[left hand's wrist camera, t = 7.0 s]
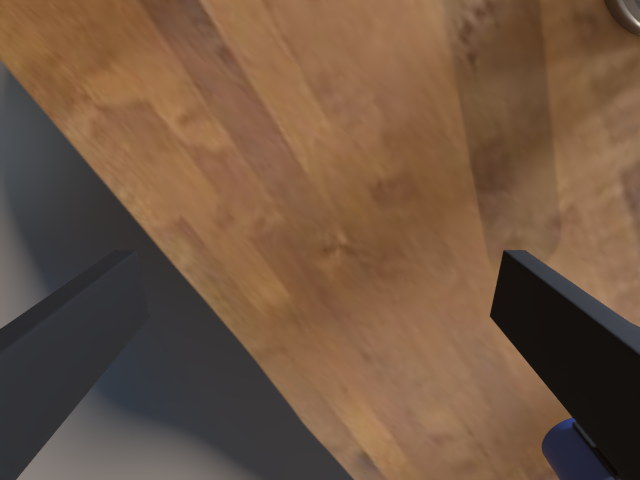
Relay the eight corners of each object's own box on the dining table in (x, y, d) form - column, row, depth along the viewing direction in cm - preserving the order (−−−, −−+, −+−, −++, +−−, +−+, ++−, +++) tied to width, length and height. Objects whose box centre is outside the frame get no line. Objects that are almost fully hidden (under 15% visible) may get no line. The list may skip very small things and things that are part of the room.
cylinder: (527, 454, 45) (563, 513, 39) (570, 407, 42) (617, 462, 36) (583, 472, 46) (626, 533, 40) (628, 428, 43) (684, 485, 37)
